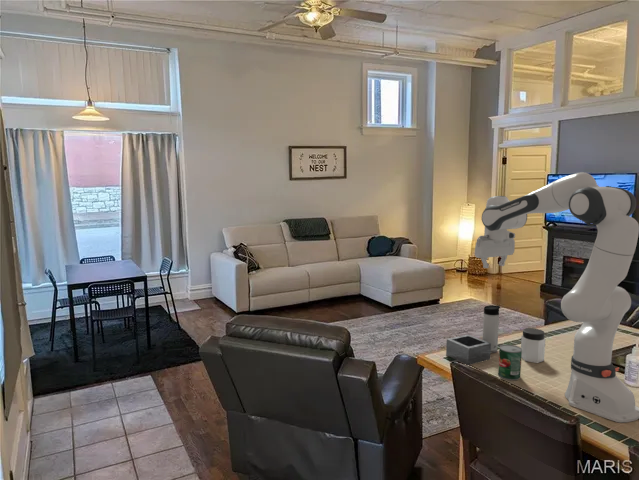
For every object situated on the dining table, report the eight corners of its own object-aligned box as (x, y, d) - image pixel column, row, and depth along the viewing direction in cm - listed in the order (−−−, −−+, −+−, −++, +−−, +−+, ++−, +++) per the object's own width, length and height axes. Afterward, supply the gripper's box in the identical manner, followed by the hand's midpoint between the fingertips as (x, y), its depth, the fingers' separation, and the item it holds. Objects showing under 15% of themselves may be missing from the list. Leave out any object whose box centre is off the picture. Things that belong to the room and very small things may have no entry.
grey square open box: (490, 359, 193) (491, 343, 192) (468, 365, 188) (468, 348, 187) (467, 349, 204) (468, 334, 203) (446, 354, 199) (446, 339, 198)
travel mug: (499, 353, 200) (501, 308, 197) (483, 352, 201) (485, 307, 198) (496, 348, 206) (498, 304, 203) (481, 347, 207) (482, 303, 204)
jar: (517, 355, 198) (518, 327, 197) (536, 354, 198) (537, 327, 197) (527, 363, 189) (529, 334, 188) (547, 363, 190) (549, 334, 188)
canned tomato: (493, 375, 178) (495, 347, 177) (505, 369, 183) (506, 342, 182) (513, 382, 172) (514, 353, 171) (524, 376, 177) (526, 348, 175)
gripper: (483, 236, 189) (481, 270, 191) (518, 233, 198) (516, 265, 200) (471, 235, 194) (470, 267, 196) (505, 232, 204) (504, 263, 206)
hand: (493, 266), depth 198 cm, fingers open, 8 cm apart
